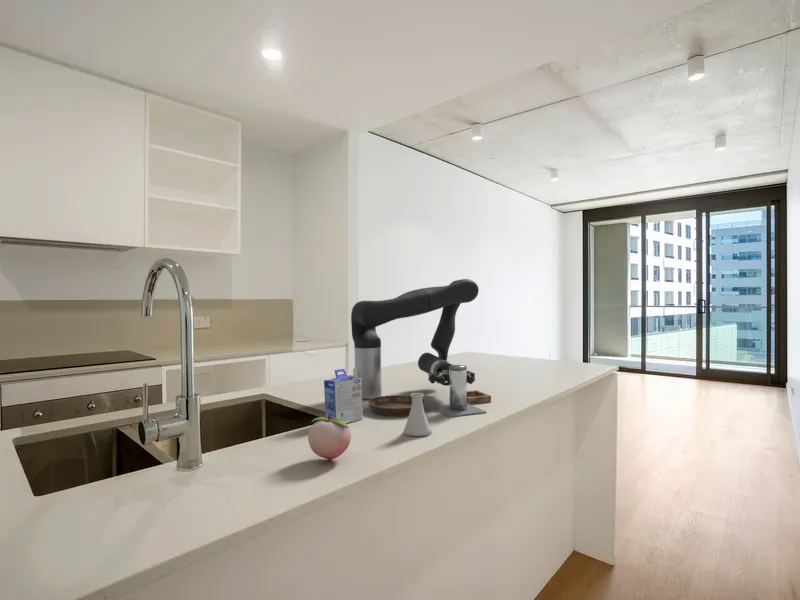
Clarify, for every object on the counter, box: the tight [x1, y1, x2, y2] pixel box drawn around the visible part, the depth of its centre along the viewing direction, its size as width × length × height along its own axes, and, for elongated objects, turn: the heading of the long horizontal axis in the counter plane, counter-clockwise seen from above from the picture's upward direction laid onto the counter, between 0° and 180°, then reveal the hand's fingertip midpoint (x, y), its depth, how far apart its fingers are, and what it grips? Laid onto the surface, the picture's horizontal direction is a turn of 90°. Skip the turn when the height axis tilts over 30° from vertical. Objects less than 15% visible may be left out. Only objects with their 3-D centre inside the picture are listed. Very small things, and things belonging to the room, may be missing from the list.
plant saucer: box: [367, 394, 427, 417], centre depth 141 cm, size 18×18×3 cm
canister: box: [449, 364, 468, 411], centre depth 140 cm, size 5×5×13 cm
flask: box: [403, 392, 433, 437], centre depth 118 cm, size 7×7×10 cm
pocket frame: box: [467, 390, 492, 405], centre depth 152 cm, size 9×9×2 cm
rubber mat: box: [432, 403, 487, 418], centre depth 140 cm, size 12×12×1 cm
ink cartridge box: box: [323, 368, 363, 424], centre depth 129 cm, size 10×6×14 cm, turn 137°
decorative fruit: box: [307, 414, 352, 461], centre depth 99 cm, size 9×8×10 cm
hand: (457, 381), depth 139 cm, fingers open, 8 cm apart
